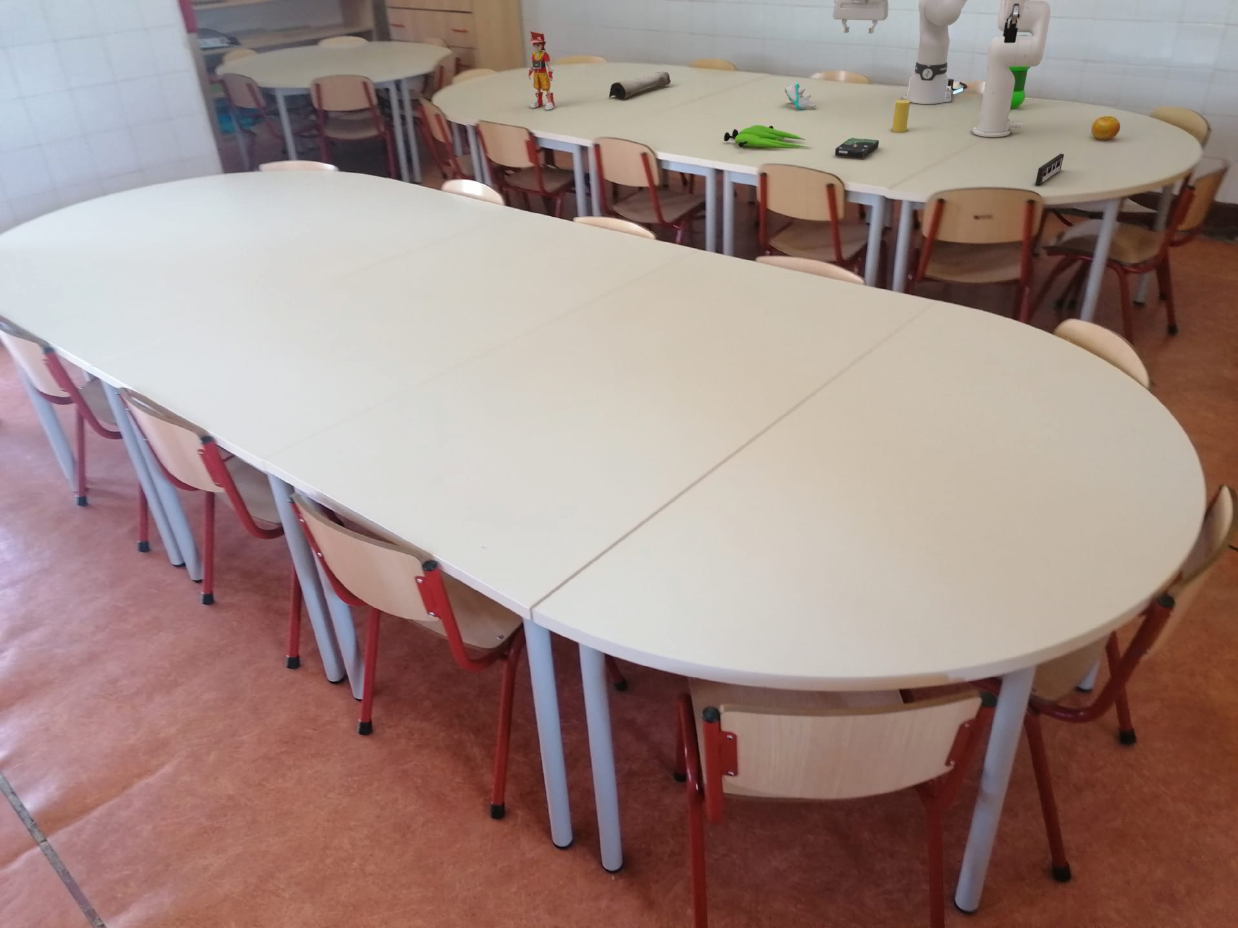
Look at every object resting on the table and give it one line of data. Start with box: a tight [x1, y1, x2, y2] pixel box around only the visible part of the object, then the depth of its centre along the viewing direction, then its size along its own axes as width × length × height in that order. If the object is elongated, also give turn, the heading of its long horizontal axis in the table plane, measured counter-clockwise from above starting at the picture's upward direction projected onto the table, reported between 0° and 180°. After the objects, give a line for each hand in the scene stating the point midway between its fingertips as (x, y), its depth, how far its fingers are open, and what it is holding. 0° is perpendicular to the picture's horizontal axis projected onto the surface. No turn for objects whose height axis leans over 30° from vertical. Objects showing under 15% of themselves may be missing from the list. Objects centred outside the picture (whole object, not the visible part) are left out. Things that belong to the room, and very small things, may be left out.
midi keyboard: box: [1035, 153, 1065, 186], centre depth 273 cm, size 18×1×5 cm, turn 138°
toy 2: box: [723, 124, 807, 148], centre depth 319 cm, size 28×5×30 cm
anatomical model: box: [784, 80, 816, 111], centre depth 360 cm, size 15×10×10 cm
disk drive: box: [834, 137, 880, 159], centre depth 305 cm, size 10×3×15 cm
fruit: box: [1090, 115, 1121, 141], centre depth 303 cm, size 8×8×8 cm
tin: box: [891, 99, 911, 133], centre depth 323 cm, size 5×5×10 cm
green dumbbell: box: [1009, 66, 1031, 110], centre depth 337 cm, size 10×10×25 cm
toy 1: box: [527, 31, 556, 111], centre depth 374 cm, size 12×9×30 cm
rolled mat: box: [608, 71, 672, 101], centre depth 395 cm, size 30×9×10 cm
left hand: (858, 33), depth 339 cm, fingers open, 8 cm apart
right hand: (1008, 39), depth 271 cm, fingers open, 9 cm apart
